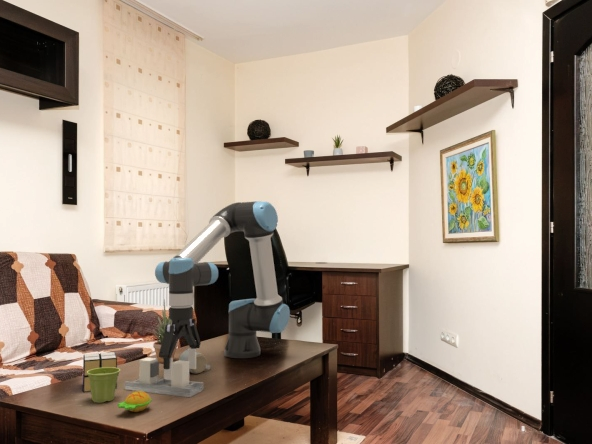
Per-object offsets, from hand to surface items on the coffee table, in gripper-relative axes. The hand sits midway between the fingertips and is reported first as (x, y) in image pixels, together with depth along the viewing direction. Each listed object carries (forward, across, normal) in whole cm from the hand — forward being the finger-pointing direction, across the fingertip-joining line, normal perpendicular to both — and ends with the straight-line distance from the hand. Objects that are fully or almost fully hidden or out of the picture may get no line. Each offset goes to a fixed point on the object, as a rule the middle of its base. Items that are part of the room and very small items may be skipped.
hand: (180, 373), depth 160 cm
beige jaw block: (+4, 0, 0) cm, 4 cm away
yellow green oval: (+6, +21, -1) cm, 22 cm away
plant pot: (+6, +15, -17) cm, 24 cm away
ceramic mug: (+6, -24, -9) cm, 26 cm away
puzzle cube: (+6, +4, -28) cm, 29 cm away
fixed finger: (+4, 0, -12) cm, 12 cm away
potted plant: (+6, -34, -29) cm, 45 cm away
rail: (+5, 0, -6) cm, 8 cm away
